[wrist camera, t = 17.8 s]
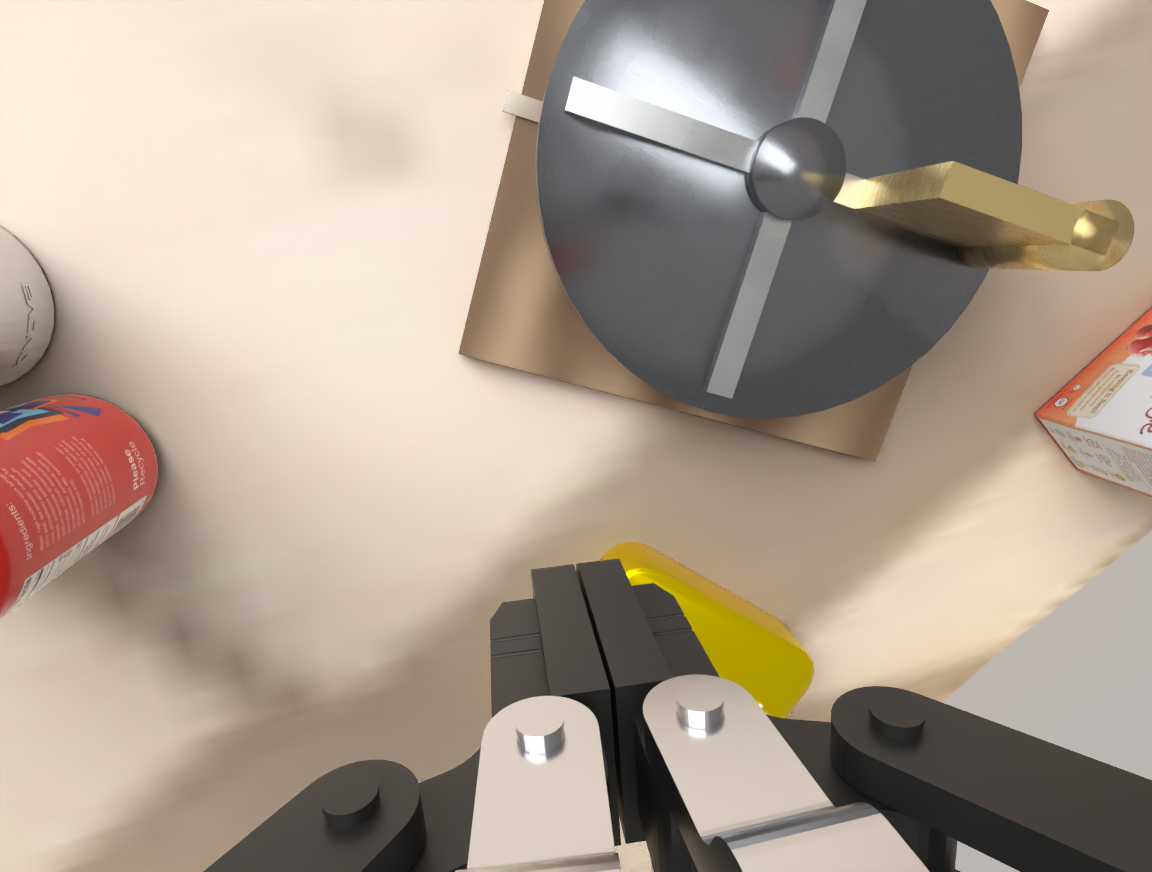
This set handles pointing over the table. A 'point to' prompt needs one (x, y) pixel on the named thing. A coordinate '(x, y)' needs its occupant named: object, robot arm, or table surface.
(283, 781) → the table surface
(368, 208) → the table surface
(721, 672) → the element tile
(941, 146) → the handwheel
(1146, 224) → the table surface
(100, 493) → the soda can
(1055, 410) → the cracker box
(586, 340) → the winch base
